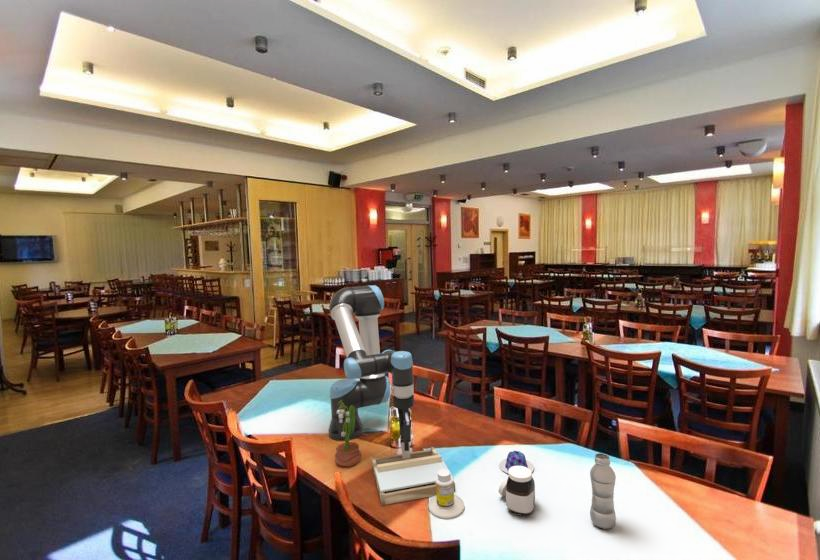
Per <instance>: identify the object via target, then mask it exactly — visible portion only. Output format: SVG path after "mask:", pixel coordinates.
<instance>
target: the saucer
mask: <svg viewBox="0 0 820 560" xmlns="http://www.w3.org/2000/svg"><path fill="white" fill-rule="evenodd" d="M464 510H465V503H464V500H463V499H462V498H461V497H460V496H458V495H457V494H454V505H453V506H452V507H451V508H448V509H443V508H440V507H439V506H438V505H437V500H436V495H435V496H431V498H429V501H428V511H429V512H430V514H431V515H432V516H434V517H435V518H438V519H442V520H449V519H455V518H458V517H460V516H461V515H462V514H463V512H464Z"/></svg>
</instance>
